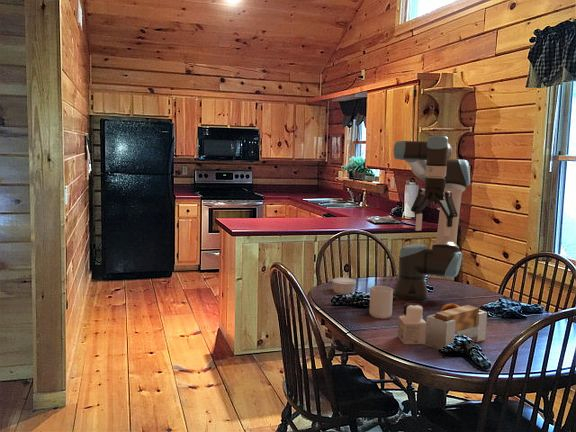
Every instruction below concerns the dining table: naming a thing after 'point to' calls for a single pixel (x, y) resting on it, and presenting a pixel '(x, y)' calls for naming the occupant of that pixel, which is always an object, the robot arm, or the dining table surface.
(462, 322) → the rail
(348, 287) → the ramekin
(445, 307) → the croissant
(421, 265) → the robot arm
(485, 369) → the dining table surface
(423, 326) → the container
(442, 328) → the brackets
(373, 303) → the mug
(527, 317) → the dining table surface
